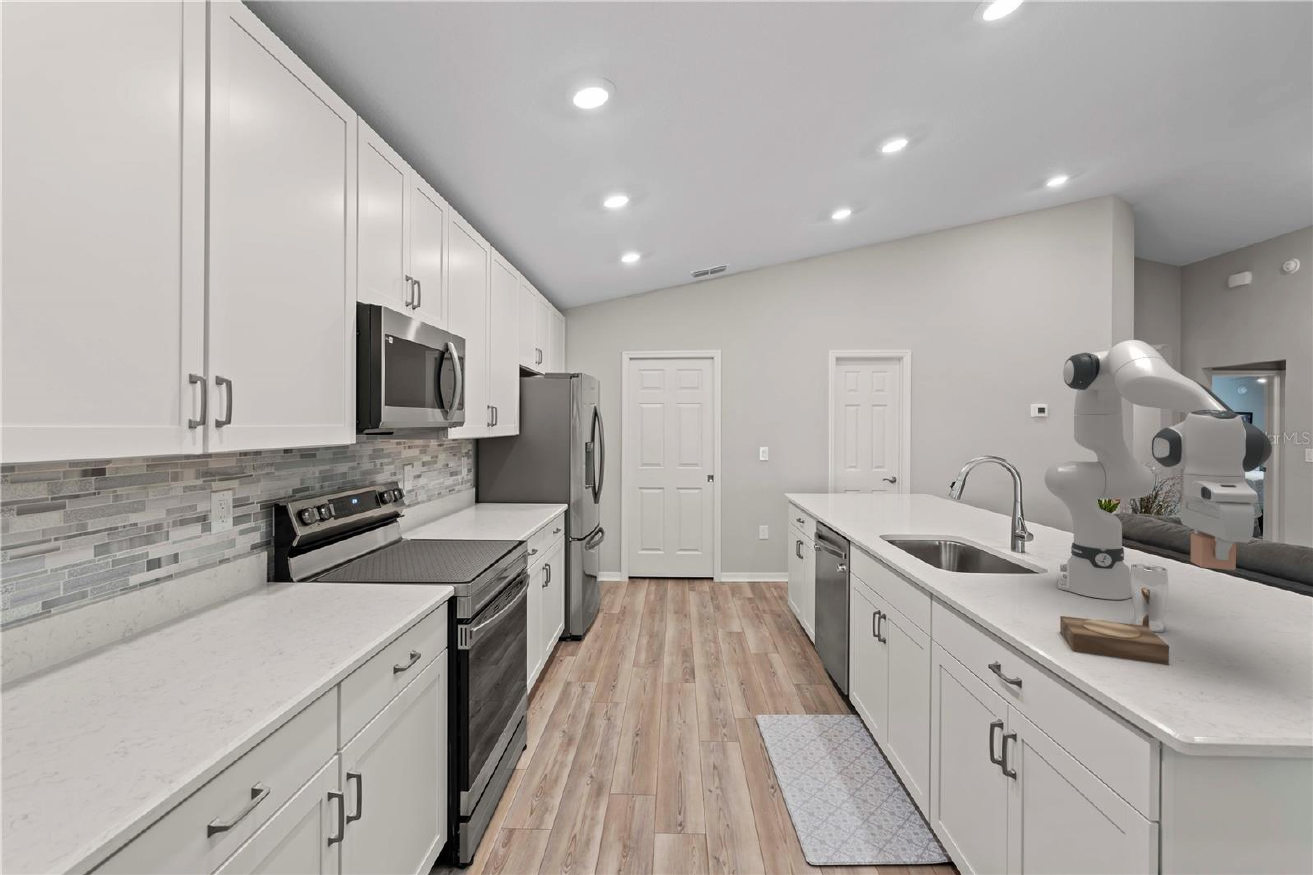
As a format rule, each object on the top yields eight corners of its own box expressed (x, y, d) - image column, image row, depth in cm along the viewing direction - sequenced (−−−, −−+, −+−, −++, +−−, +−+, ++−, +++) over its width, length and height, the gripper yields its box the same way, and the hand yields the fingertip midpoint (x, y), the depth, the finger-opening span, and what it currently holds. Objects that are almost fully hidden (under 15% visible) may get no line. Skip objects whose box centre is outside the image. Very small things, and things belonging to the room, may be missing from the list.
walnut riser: (1060, 632, 129) (1060, 614, 129) (1146, 643, 122) (1146, 624, 122) (1073, 651, 118) (1073, 631, 118) (1168, 664, 111) (1168, 643, 111)
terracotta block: (1190, 561, 114) (1190, 533, 113) (1222, 564, 111) (1223, 535, 111) (1202, 567, 109) (1202, 538, 109) (1235, 570, 107) (1236, 540, 107)
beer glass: (1175, 634, 127) (1176, 571, 127) (1141, 632, 128) (1142, 570, 128) (1154, 623, 134) (1155, 564, 133) (1122, 622, 135) (1123, 563, 135)
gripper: (1171, 482, 121) (1170, 543, 121) (1217, 493, 102) (1216, 565, 102) (1208, 483, 118) (1208, 546, 118) (1263, 495, 99) (1262, 569, 100)
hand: (1212, 555), depth 110 cm, fingers closed on terracotta block, 5 cm apart
